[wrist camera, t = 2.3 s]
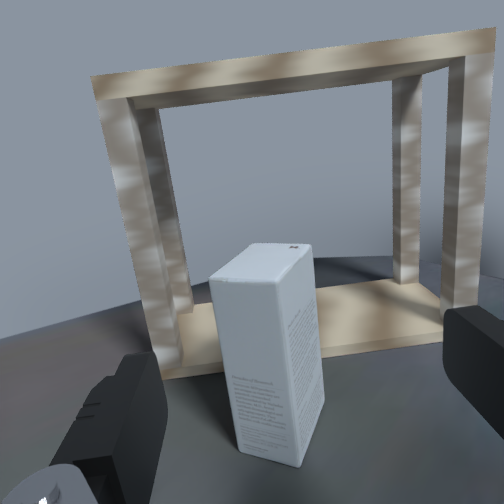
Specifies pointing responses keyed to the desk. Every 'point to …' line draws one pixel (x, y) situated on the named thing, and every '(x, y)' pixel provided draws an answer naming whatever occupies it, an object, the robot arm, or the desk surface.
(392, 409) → the desk surface
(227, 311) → the skincare box
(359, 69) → the oak counter shelf
